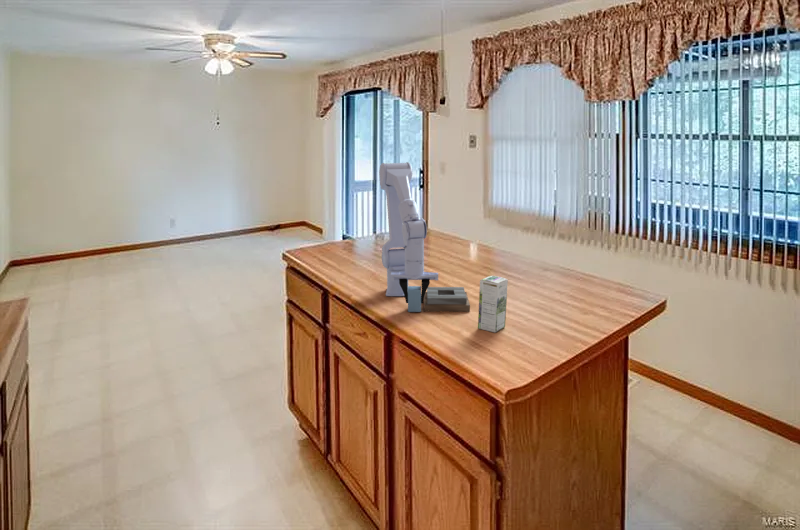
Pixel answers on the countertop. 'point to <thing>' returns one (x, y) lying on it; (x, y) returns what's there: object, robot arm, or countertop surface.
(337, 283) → the countertop surface
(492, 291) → the syrup box
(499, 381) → the countertop surface
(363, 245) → the countertop surface
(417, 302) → the blue peg
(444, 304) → the socket block
